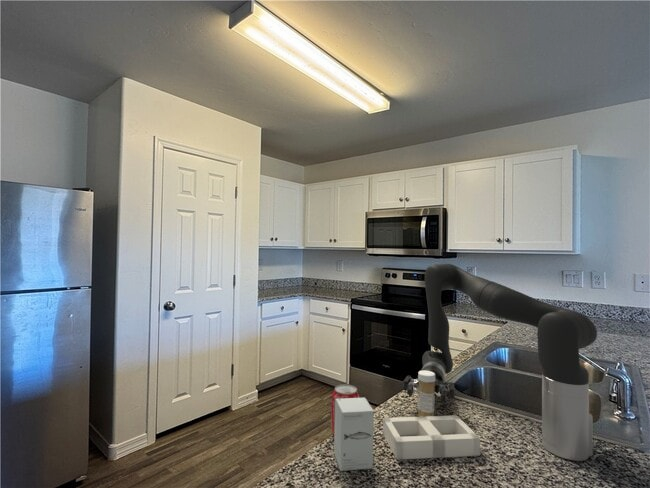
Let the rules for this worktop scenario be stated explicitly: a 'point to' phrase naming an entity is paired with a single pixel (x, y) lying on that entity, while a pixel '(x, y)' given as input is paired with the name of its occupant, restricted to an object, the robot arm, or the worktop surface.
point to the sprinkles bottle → (426, 393)
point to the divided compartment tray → (430, 437)
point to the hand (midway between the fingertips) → (425, 396)
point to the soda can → (341, 393)
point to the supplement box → (353, 434)
